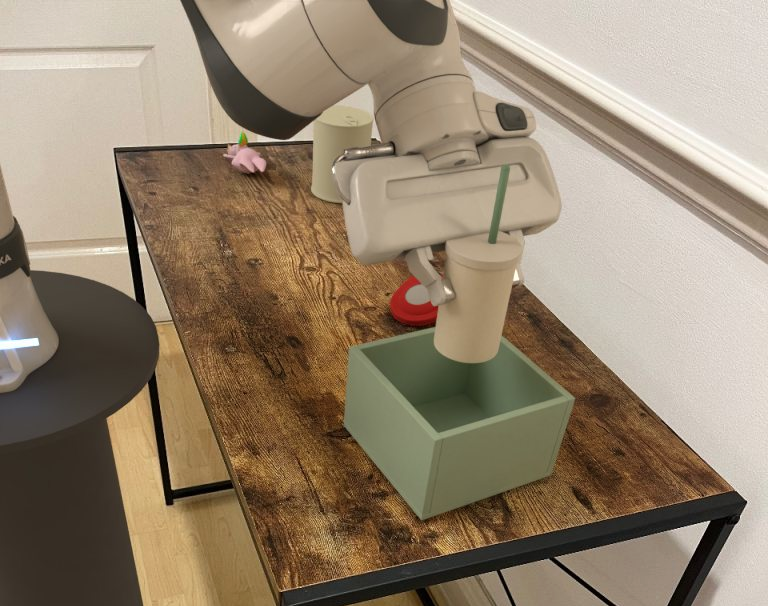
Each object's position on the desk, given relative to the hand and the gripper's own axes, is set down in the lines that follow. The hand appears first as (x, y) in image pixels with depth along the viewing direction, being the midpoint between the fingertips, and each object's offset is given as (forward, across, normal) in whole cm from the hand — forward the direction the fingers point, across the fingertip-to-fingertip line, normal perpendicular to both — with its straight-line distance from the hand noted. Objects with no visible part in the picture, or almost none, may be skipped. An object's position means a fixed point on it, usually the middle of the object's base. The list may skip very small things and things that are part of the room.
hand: (480, 295), depth 67 cm
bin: (+12, 0, +13) cm, 18 cm away
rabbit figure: (-40, +9, +66) cm, 77 cm away
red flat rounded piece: (-4, +13, +30) cm, 32 cm away
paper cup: (+3, 0, +4) cm, 5 cm away
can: (-32, +20, +57) cm, 68 cm away
